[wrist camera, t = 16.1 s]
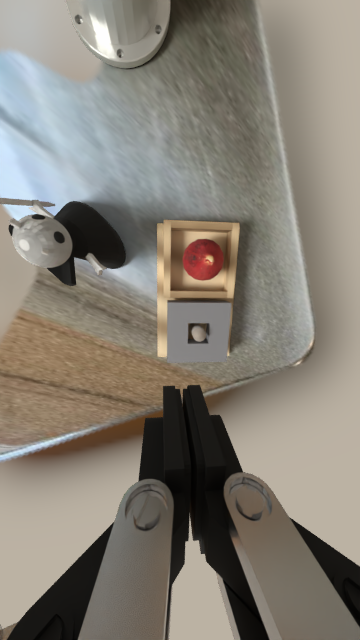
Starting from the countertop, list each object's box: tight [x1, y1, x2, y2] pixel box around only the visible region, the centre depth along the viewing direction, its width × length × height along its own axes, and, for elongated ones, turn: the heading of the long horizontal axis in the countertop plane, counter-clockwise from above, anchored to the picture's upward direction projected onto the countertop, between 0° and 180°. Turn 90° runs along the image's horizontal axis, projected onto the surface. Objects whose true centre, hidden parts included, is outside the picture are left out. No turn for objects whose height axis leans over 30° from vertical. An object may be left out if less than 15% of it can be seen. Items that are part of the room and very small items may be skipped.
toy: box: [0, 198, 125, 286], centre depth 25 cm, size 12×7×15 cm, turn 43°
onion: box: [182, 239, 224, 281], centre depth 29 cm, size 6×6×8 cm
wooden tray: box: [157, 220, 240, 357], centre depth 33 cm, size 22×13×6 cm, turn 179°
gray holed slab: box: [167, 300, 231, 363], centre depth 34 cm, size 10×10×2 cm
